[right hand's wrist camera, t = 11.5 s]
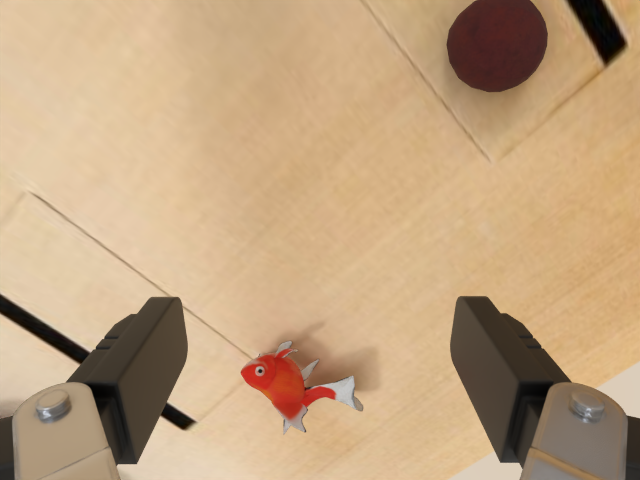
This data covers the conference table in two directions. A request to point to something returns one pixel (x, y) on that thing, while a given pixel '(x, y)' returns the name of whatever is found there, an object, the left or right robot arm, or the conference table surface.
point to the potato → (497, 43)
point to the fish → (293, 385)
